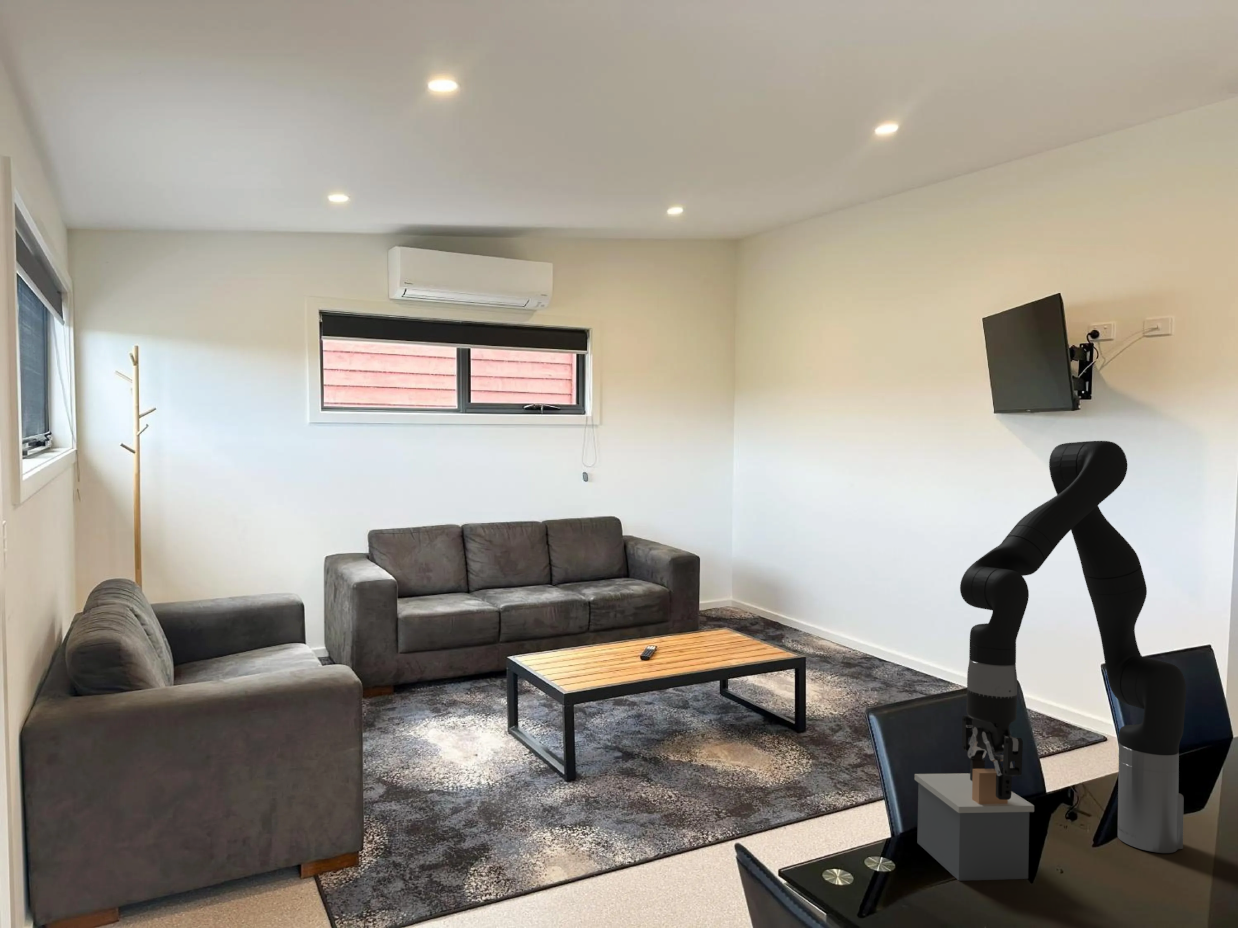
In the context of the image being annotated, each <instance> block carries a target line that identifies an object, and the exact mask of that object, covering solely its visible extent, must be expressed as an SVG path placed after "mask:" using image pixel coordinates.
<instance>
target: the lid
mask: <svg viewBox="0 0 1238 928" xmlns="http://www.w3.org/2000/svg"><path fill="white" fill-rule="evenodd" d="M996 775H997V773H996V769H995V768H985V769H973V778H972V781H971V780H970V772H969V773H967V772H966V773H961V772H960V773H914V781H915V782H917V784H919V783H920V784H921V785H922V786H924V787H925V788H926V789H928V790H929V791H930V792H932V793H933V794H934V795H936V796H937V797H938V798H940V799H941V800H942V801H943V802H945V803H946V804H947V805H949V806H950V807H951V808H953V809H954V810H955V811H957V812H958V813H992V812H1029V813H1034V812H1035V805H1034V804H1033V803H1031V802H1029V801H1027V800H1026V799H1025V798H1023V797H1021V796H1020V795H1019V794H1016V793H1015V792H1014V791H1012V790H1011V798H1010V799H1009V800H1000V799H998V798H997V797H996Z"/></svg>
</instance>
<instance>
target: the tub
mask: <svg viewBox="0 0 1238 928" xmlns="http://www.w3.org/2000/svg"><path fill="white" fill-rule="evenodd" d="M917 786H918V789H917V791H918V794H917V797H918V798H917V834H916V835H917V836H916V837H917V838H916V840H917V842H916V843H917V844H918V845H919V846H920V847H921V848H923V849H924V851H925V852H927V853H928V854H929V855H930V856H931V857H932V858H933V859H934V860H936V862H938V863H939V864H940V865H941V866H942V867H943V868H944V869H945V870H946V871H948V872H949V874H950V875H952V877H954V878H956V880H957V881H990V880H991V881H992V880H1023V879H1024V880H1026V879H1027V880H1028V879H1029V855H1030V854H1029V853H1030V851H1029V849H1030V844H1029V843H1030V812H992V813H958V812H957V811H955V810H954V809H953V808H951V807H950V806H949V805H947V804H946V803H945V802H943V801H942V800H941V799H940V798H938V797H937V796H936V795H934V794H933V793H932V792H930V791H929V790H928V789H926V788H925V787H924V786H922V785H921V784H920V783H918V785H917Z"/></svg>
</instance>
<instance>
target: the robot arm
mask: <svg viewBox="0 0 1238 928" xmlns="http://www.w3.org/2000/svg"><path fill="white" fill-rule="evenodd" d="M1048 463H1049V464H1048V467H1049V474H1050V478H1051V482H1052V485H1053V488H1054V490H1055V493H1056V495H1055V496H1053V497H1052V498H1051V499H1049V500H1047V501H1046V502H1043V504H1040V505H1039V506H1038V507H1035V508H1034V509H1033V510H1031V511H1030V512H1029V513H1027V514H1025V515H1024V516H1023V517H1022V518H1021V519H1020V520H1019V521H1018V522H1017V523H1016V524H1015V525H1014V527H1013V528H1012V529H1011V530H1010V532H1009V533H1008V534H1007V535H1006V536H1005V538H1004V539H1003V540H1002V542H1000V544H999V545H997V546H996V547H994V548H992V549H991V550H990V551H988V552H987V553H985V554H984V555H983V556H981V557H980V558H978V559H977V560H976V561H974V562H973V563H972V564H971V565H970V566H969V567H968V568H967V569H966V571H965V572H964V573H963V576H962V577H961V581H960V586H959V591H960V596H961V598H962V599H963V601H964V602H965V603H966V604H968V606H971V607H973V608H978V609H983V610H987V611H992V613H991V616H990V619H989V622H988V623H979V624H975V625H973V626H972V627H971V629H970V633H969V649H968V650H969V651H968V652H969V657H968V659H969V660H968V667H967V672H966V673H967V675H966V677H967V679H966V713H967V715H962V717H961V749H962V751H963V752H966V753H967V757H968V758H969V760H970V761H969V766H970V767H969V773H970V780H971V781H972V778H973V769H986V761H985V759H984V758H985V757H986V754H988V756H989V757H988V758H989V760H990V761H991V762H993V765H994V769H996V773H997V775H996V797H997V798H998V799H1000V800H1009V799H1010V798H1011V791H1012V788H1013V787H1012V785H1013V784H1012V779H1013V777H1021V776H1022V771H1023V770H1022V769H1023V750H1024V749H1023V747H1024V746H1023V745H1024V743H1023V742H1024V741H1023V739H1022V737H1014V736H1012V733H1011V731H1010V725H1011V724H1012V723H1014V722H1015V721H1016V720H1017V710H1018V709H1017V706H1018V705H1017V704H1018V702H1017V701H1018V674H1017V667H1016V666H1017V665H1016V664H1017V638H1018V635H1019V631H1020V628H1021V626H1022V622H1023V618H1024V617H1025V616H1024V615H1025V612H1026V610H1027V606H1028V602H1029V598H1030V597H1029V596H1030V595H1029V592H1030V591H1029V587H1028V583H1027V582H1026V579H1025V578H1024V577H1025V576H1030V575H1033V574H1035V573H1036V572H1037V571H1038V570H1039V569H1040V568H1041V567H1042V566H1043V564H1044V563H1045V561H1046V560H1047V559H1048V558H1049V556H1050V555H1051V554H1052V552H1054V549H1055V548H1056V547H1057V546H1058V545H1059V543H1060V542H1061V541H1062V540H1063V539H1064V538H1065V537H1066V535H1067V534H1068V533H1069V532H1071V534H1072V538H1073V540H1074V544H1075V547H1076V551H1077V554H1078V557H1079V561H1080V564H1081V569H1082V574H1083V577H1084V580H1085V584H1086V587H1087V591H1088V595H1089V597H1090V600H1091V603H1092V607H1093V610H1094V611H1093V612H1094V615H1095V619H1096V622H1097V627H1098V631H1099V634H1100V635H1099V636H1100V641H1101V647H1102V651H1103V652H1102V653H1103V657H1104V665H1105V671H1106V676H1107V681H1108V685H1109V687H1110V690H1111V692H1112V694H1113V696H1114V697H1115V698H1116V699H1117V700H1118V701H1119V702H1121V703H1123V704H1126V705H1129V706H1131V707H1135V708H1138V709H1142V710H1144V711H1143V716H1142V722H1141V723H1139V724H1138V723H1137V724H1136V723H1135V724H1126V725H1123V726H1122V727H1120V729H1119V732H1118V775H1117V776H1118V785H1117V786H1118V787H1117V788H1118V789H1117V790H1118V791H1117V793H1118V794H1117V798H1118V799H1117V838H1118V839H1119V840H1120V841H1121V842H1123V843H1124V844H1126V845H1128V846H1131V847H1134V848H1136V849H1139V850H1143V851H1147V852H1152V853H1158V854H1173V853H1175V852H1177V851H1178V850H1181V849H1183V850H1184V795H1183V794H1182V793H1179V785H1180V784H1179V780H1180V778H1179V777H1180V776H1179V775H1180V774H1179V773H1180V771H1179V770H1180V769H1179V767H1180V766H1179V763H1180V762H1179V761H1180V757H1179V756H1180V752H1179V751H1180V742H1181V740H1182V738H1183V735H1184V730H1185V729H1184V728H1185V727H1184V726H1185V712H1186V702H1187V701H1186V698H1187V685H1186V679H1185V676H1184V674H1183V672H1182V671H1181V669H1180V668H1179V667H1178V666H1176V665H1175V664H1172V663H1170V662H1166V661H1162V660H1158V659H1157V660H1156V659H1152V658H1149V657H1144V656H1143V655H1142V654H1141V652H1140V649H1139V647H1138V642H1137V638H1136V632H1135V631H1136V630H1135V627H1136V625H1137V624H1136V623H1137V621H1138V618H1139V616H1140V614H1141V611H1142V609H1143V607H1144V604H1145V602H1146V598H1147V593H1148V592H1147V591H1148V590H1147V582H1146V579H1145V575H1144V573H1143V568H1142V565H1141V562H1140V558H1139V556H1138V554H1137V552H1136V551H1135V550H1134V548H1133V547H1132V545H1131V544H1130V543H1129V542H1128V541H1127V539H1126V538H1125V537H1124V536H1123V535H1122V534H1121V533H1120V532H1119V531H1118V530H1117V529H1116V528H1115V527H1114V526H1113V525H1112V524H1111V523H1110V521H1109V520H1108V519H1107V518H1106V517H1105V515H1104V514H1103V512H1102V510H1101V509H1100V506H1099V505H1100V504H1101V503H1102V502H1104V501H1105V500H1106V499H1107V498H1108V497H1109V496H1111V494H1113V493H1114V492H1115V491H1116V490H1117V489H1118V488H1119V487H1120V486H1121V484H1122V483H1123V482H1124V479H1126V475H1127V473H1128V459H1127V456H1126V454H1125V451H1124V450H1123V449H1122V447H1121V446H1120V445H1119V444H1117V443H1116V442H1114V441H1109V440H1092V441H1091V440H1089V441H1076V442H1067V443H1066V442H1065V443H1060V444H1058V445H1057V446H1055V447H1054V448H1053V450H1052V451H1051V453H1050V456H1049V460H1048ZM969 738H970V739H969ZM1001 762H1002V763H1001ZM1013 762H1014V764H1013Z"/></svg>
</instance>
